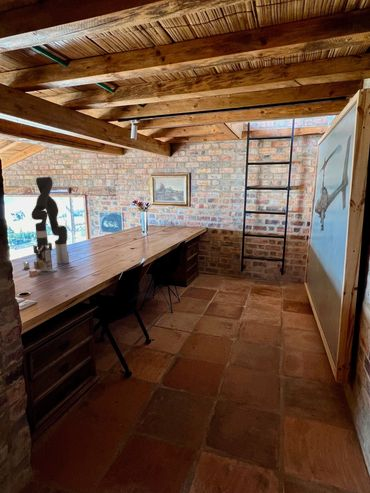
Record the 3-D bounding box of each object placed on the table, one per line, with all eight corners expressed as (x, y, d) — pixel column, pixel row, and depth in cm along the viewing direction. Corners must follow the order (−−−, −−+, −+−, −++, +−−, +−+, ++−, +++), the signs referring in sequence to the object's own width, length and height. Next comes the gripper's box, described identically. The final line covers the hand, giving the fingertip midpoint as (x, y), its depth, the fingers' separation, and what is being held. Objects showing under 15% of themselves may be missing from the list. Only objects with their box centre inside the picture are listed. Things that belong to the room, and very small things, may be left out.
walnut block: (39, 265, 238) (39, 260, 237) (43, 266, 235) (42, 260, 234) (34, 267, 233) (33, 261, 232) (37, 268, 231) (37, 262, 230)
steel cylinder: (27, 267, 232) (27, 261, 231) (30, 268, 230) (29, 262, 229) (23, 268, 229) (22, 262, 228) (25, 269, 227) (25, 263, 226)
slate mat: (47, 269, 227) (47, 268, 227) (56, 271, 221) (56, 270, 221) (33, 273, 217) (33, 272, 217) (42, 275, 211) (42, 274, 211)
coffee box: (52, 268, 221) (51, 249, 217) (46, 271, 215) (44, 250, 211) (43, 267, 223) (41, 248, 220) (37, 270, 217) (35, 250, 214)
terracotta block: (34, 274, 215) (33, 269, 214) (37, 274, 213) (37, 269, 212) (29, 275, 211) (28, 270, 210) (32, 276, 209) (32, 271, 209)
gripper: (47, 234, 221) (49, 254, 225) (29, 237, 209) (32, 258, 213) (53, 235, 218) (55, 256, 221) (35, 238, 206) (38, 260, 209)
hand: (43, 257), depth 217 cm, fingers closed on coffee box, 7 cm apart
